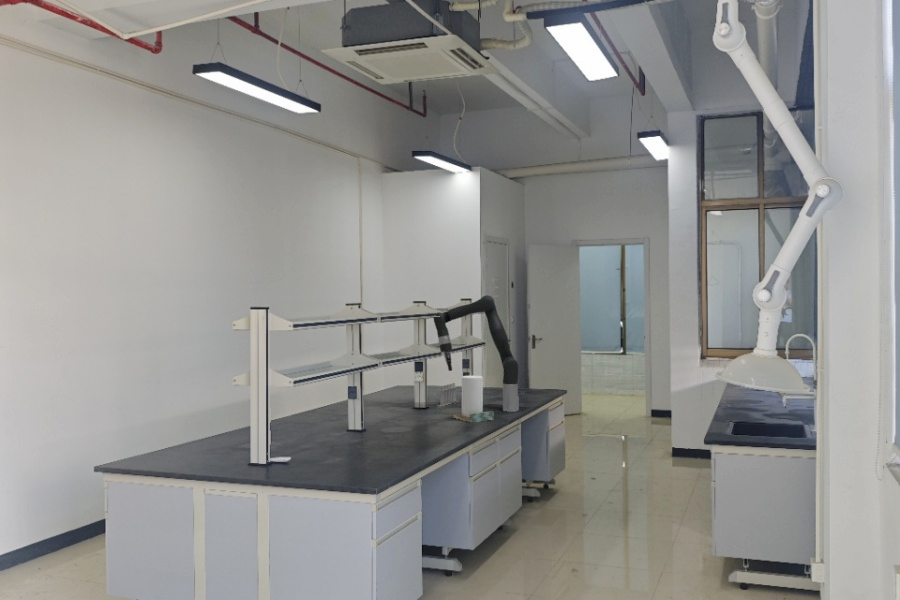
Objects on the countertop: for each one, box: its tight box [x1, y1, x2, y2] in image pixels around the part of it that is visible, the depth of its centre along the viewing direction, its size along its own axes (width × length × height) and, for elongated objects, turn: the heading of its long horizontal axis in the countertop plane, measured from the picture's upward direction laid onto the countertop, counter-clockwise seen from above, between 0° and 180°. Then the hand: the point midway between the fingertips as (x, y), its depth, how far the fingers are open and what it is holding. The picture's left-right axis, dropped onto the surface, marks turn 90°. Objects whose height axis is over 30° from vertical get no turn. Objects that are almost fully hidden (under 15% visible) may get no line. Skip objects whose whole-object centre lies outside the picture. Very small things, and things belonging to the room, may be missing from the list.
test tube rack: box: [436, 382, 459, 407], centre depth 517 cm, size 25×4×13 cm, turn 156°
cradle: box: [453, 411, 495, 424], centre depth 458 cm, size 16×18×5 cm
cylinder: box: [461, 375, 484, 417], centre depth 459 cm, size 12×12×25 cm
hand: (450, 370), depth 488 cm, fingers closed
